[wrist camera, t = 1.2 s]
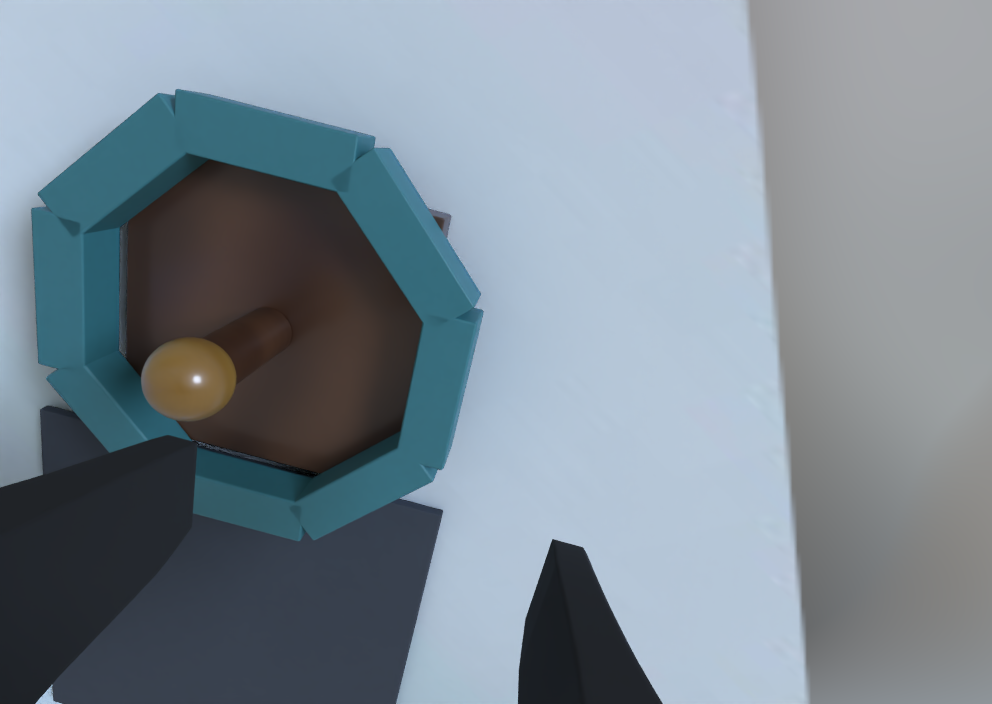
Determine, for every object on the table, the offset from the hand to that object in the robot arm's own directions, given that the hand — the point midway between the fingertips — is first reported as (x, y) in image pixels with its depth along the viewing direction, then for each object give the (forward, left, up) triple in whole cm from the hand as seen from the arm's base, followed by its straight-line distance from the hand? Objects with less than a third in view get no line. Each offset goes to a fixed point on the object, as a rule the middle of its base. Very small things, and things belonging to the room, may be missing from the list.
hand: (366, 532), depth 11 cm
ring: (-6, 0, -8) cm, 10 cm away
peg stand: (-6, 0, -10) cm, 11 cm away
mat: (-7, -14, -10) cm, 18 cm away
